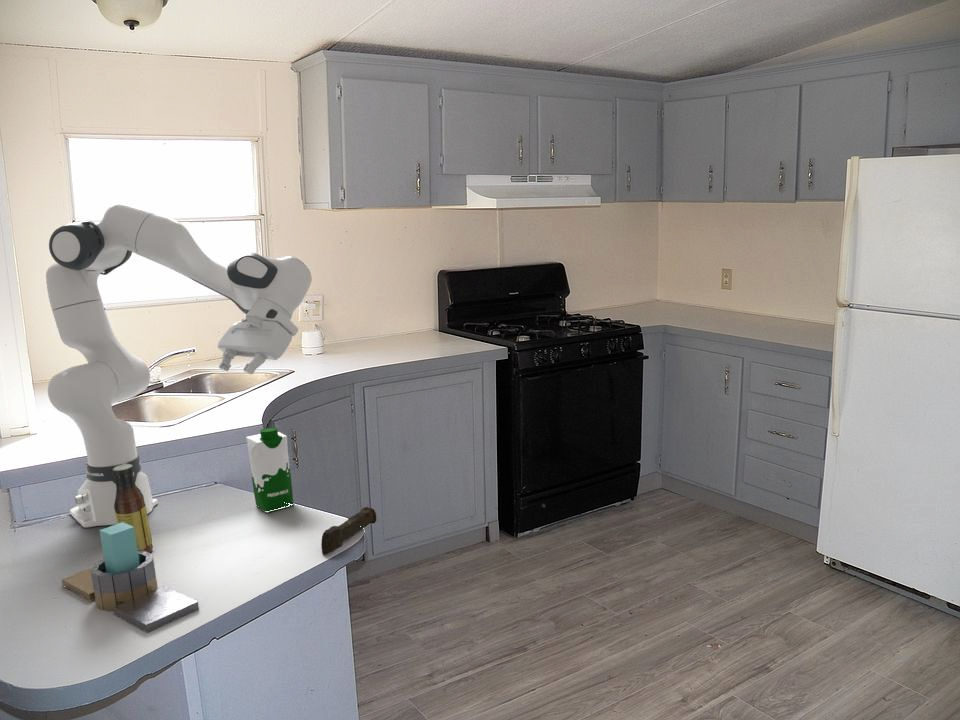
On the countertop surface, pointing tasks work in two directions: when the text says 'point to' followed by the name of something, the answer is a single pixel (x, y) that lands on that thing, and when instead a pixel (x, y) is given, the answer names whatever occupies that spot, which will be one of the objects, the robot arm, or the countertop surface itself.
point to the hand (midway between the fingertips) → (234, 371)
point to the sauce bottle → (131, 506)
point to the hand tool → (346, 529)
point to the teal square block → (119, 548)
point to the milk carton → (270, 469)
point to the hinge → (132, 594)
